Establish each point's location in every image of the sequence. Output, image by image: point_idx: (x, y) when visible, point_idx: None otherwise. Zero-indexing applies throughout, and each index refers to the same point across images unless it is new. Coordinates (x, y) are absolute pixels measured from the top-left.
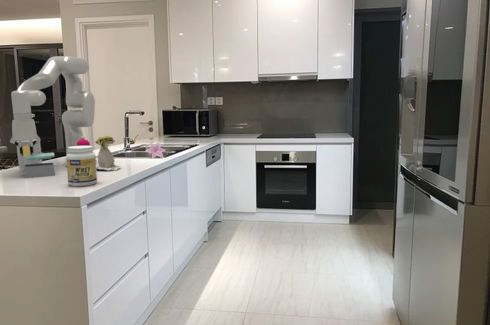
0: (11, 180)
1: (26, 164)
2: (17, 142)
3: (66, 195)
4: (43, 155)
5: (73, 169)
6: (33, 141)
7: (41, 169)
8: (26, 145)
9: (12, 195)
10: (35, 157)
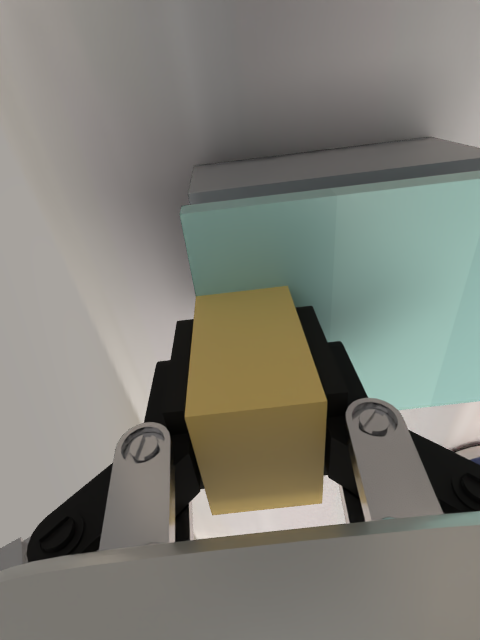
0: (129, 304)
1: (211, 200)
2: (92, 549)
3: None
4: (428, 384)
5: None
6: (445, 510)
7: None
8: (269, 456)
9: None
10: None
